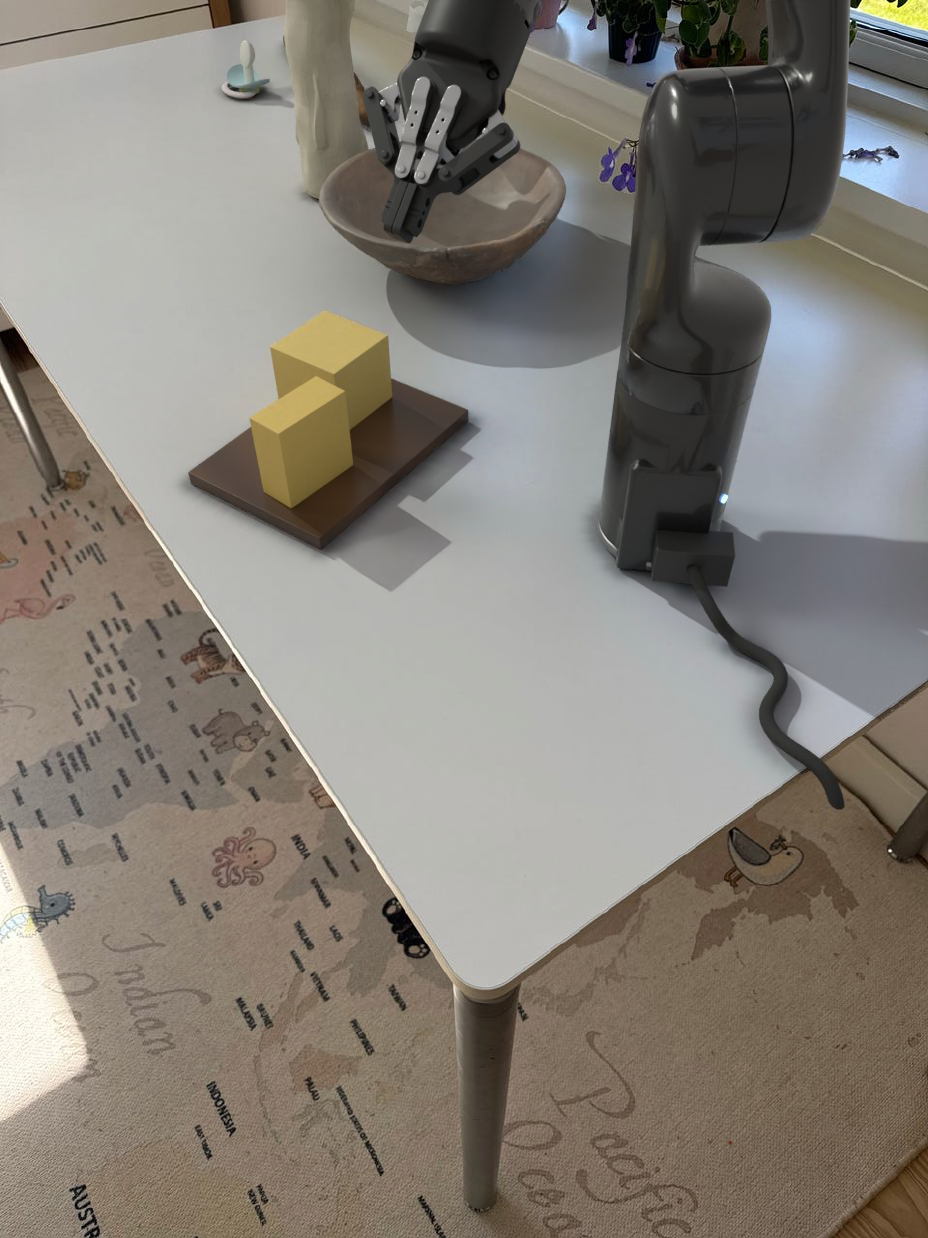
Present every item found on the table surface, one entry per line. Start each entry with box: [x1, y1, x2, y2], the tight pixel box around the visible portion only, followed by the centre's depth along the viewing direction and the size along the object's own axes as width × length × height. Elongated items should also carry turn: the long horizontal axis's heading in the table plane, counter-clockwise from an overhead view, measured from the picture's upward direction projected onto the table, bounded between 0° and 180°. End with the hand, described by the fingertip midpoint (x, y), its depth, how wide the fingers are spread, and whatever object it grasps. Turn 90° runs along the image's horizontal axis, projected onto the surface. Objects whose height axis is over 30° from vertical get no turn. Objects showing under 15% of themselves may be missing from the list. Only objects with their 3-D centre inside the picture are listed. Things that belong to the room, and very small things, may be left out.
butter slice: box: [249, 376, 353, 508], centre depth 78 cm, size 7×3×7 cm, turn 140°
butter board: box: [187, 377, 469, 550], centre depth 85 cm, size 20×14×1 cm
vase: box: [283, 0, 370, 200], centre depth 108 cm, size 9×8×30 cm
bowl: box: [318, 139, 567, 285], centre depth 104 cm, size 25×25×8 cm
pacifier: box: [221, 39, 271, 99], centre depth 138 cm, size 7×6×6 cm
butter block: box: [269, 310, 392, 430], centre depth 86 cm, size 7×7×6 cm
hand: (396, 236), depth 74 cm, fingers closed
